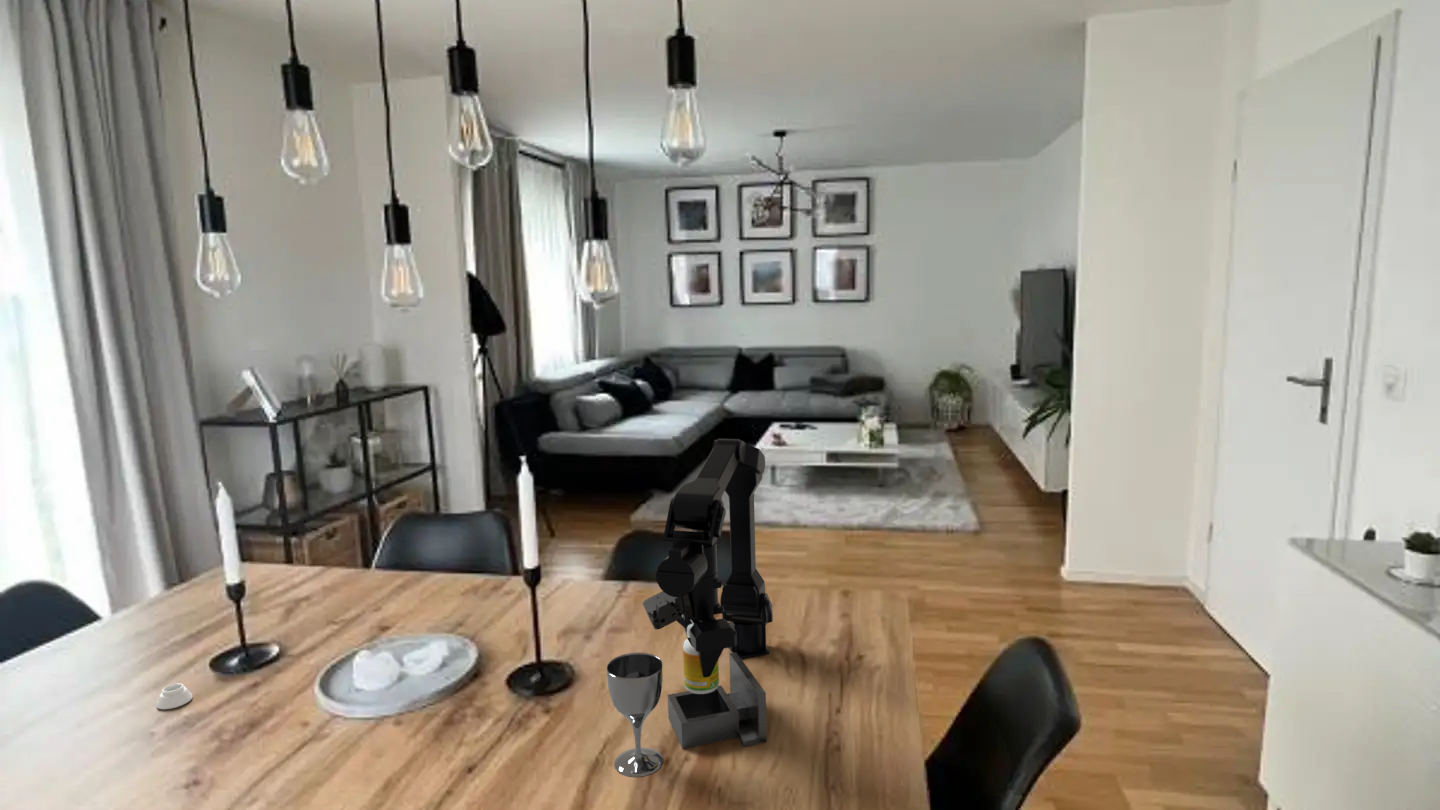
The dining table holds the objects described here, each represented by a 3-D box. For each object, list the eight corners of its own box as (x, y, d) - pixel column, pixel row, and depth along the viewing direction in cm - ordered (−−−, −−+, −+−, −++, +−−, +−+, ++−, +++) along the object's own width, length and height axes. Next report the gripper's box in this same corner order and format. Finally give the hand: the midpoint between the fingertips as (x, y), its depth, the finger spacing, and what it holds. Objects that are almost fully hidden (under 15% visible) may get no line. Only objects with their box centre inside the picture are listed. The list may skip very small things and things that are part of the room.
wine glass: (612, 748, 117) (608, 654, 114) (665, 744, 117) (662, 650, 115) (609, 780, 109) (605, 680, 107) (666, 776, 109) (662, 676, 107)
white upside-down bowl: (149, 709, 131) (171, 713, 130) (147, 692, 131) (169, 696, 130) (177, 694, 136) (199, 698, 135) (175, 678, 136) (197, 682, 134)
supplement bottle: (715, 696, 118) (713, 636, 116) (680, 693, 119) (678, 633, 117) (722, 679, 123) (720, 621, 121) (689, 676, 124) (687, 618, 122)
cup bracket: (737, 697, 130) (736, 652, 129) (766, 741, 117) (765, 692, 116) (664, 710, 127) (663, 664, 126) (686, 758, 114) (684, 707, 112)
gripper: (634, 558, 124) (638, 650, 127) (660, 602, 107) (664, 707, 109) (701, 550, 128) (704, 639, 130) (737, 591, 110) (739, 693, 112)
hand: (701, 668), depth 120 cm, fingers closed on supplement bottle, 5 cm apart
